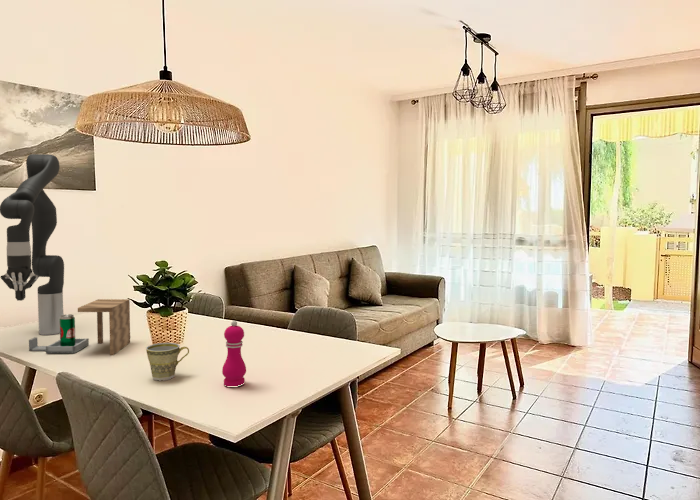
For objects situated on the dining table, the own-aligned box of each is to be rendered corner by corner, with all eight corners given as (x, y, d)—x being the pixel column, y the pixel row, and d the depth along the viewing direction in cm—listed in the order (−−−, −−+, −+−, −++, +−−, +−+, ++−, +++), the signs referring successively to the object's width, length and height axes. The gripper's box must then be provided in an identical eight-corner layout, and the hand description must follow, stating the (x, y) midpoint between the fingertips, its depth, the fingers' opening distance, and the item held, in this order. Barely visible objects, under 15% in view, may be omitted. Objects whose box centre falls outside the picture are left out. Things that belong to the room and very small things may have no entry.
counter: (99, 342, 202) (98, 299, 200) (130, 342, 203) (129, 299, 201) (78, 355, 184) (77, 308, 183) (112, 355, 185) (112, 308, 184)
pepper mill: (224, 380, 159) (224, 318, 158) (247, 380, 160) (247, 318, 158) (220, 388, 152) (220, 323, 151) (244, 388, 153) (244, 323, 151)
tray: (40, 344, 196) (40, 334, 196) (88, 344, 198) (88, 334, 197) (23, 353, 184) (22, 342, 184) (74, 353, 186) (74, 342, 185)
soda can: (68, 348, 188) (67, 317, 187) (57, 347, 189) (56, 316, 188) (78, 345, 193) (77, 314, 192) (67, 344, 194) (66, 313, 193)
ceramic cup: (147, 384, 155) (146, 352, 154) (146, 374, 164) (145, 344, 163) (191, 379, 160) (190, 348, 160) (187, 370, 169) (187, 340, 169)
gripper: (-7, 254, 183) (-5, 302, 184) (32, 255, 184) (33, 302, 185) (6, 252, 190) (8, 298, 192) (42, 253, 191) (44, 298, 193)
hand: (20, 300), depth 189 cm, fingers closed
